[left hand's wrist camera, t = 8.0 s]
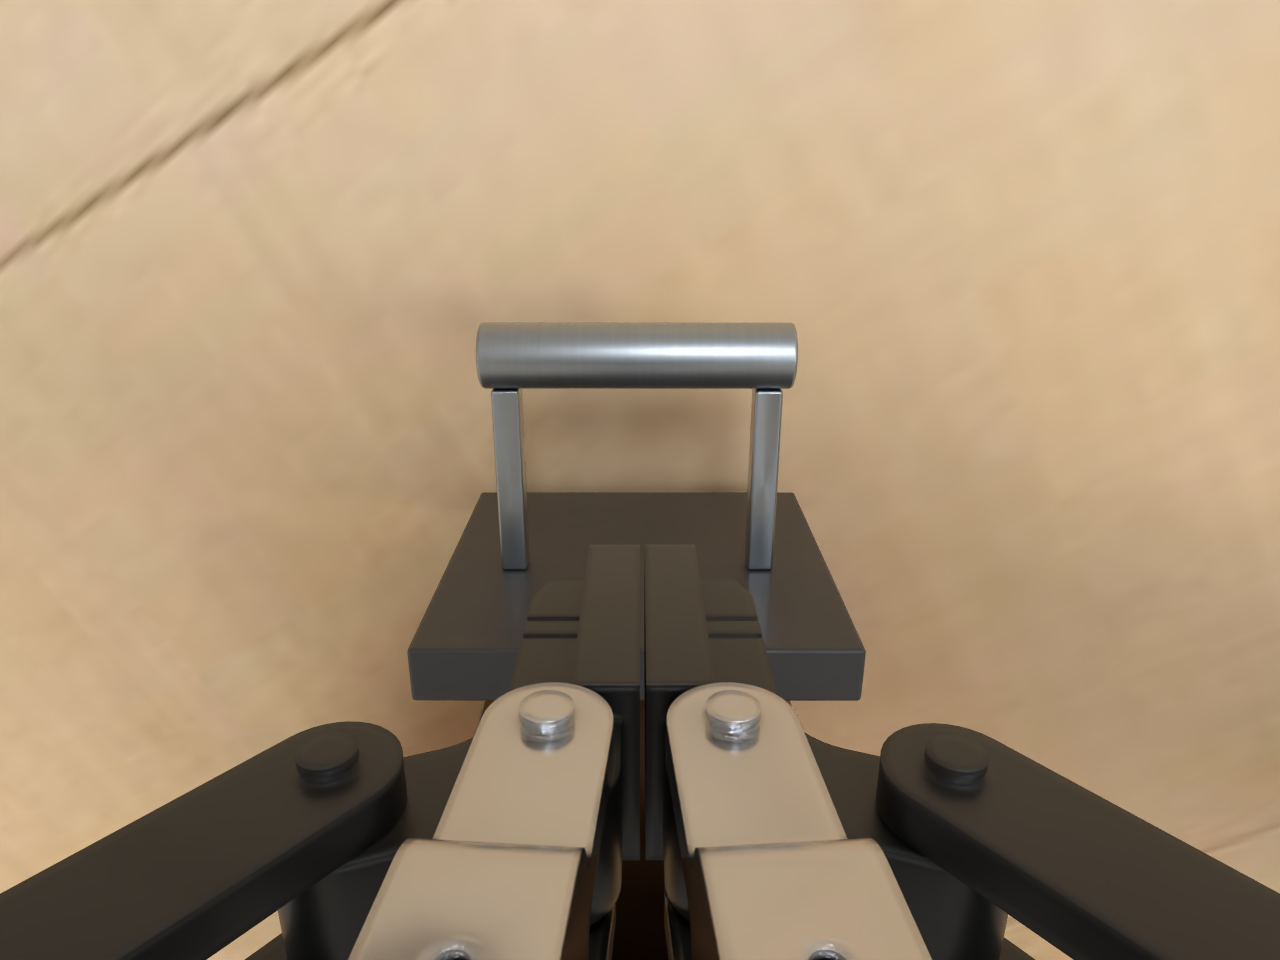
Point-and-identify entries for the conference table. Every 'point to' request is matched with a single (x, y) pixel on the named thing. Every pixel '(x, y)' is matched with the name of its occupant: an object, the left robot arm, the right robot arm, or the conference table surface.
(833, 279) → the conference table surface
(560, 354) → the drawer
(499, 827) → the left robot arm
